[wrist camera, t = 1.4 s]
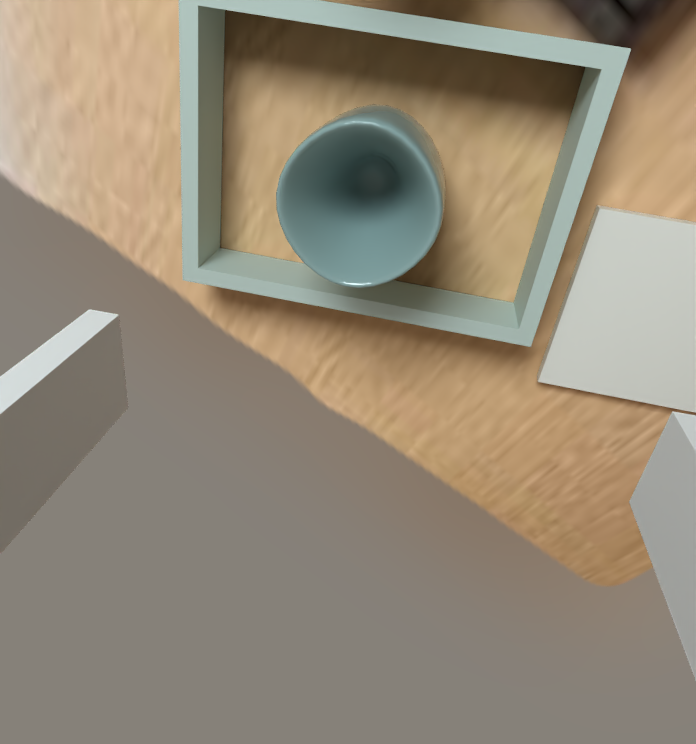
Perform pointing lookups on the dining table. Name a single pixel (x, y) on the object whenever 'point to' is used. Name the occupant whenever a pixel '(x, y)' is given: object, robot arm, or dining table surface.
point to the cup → (363, 196)
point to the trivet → (629, 312)
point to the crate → (392, 299)
